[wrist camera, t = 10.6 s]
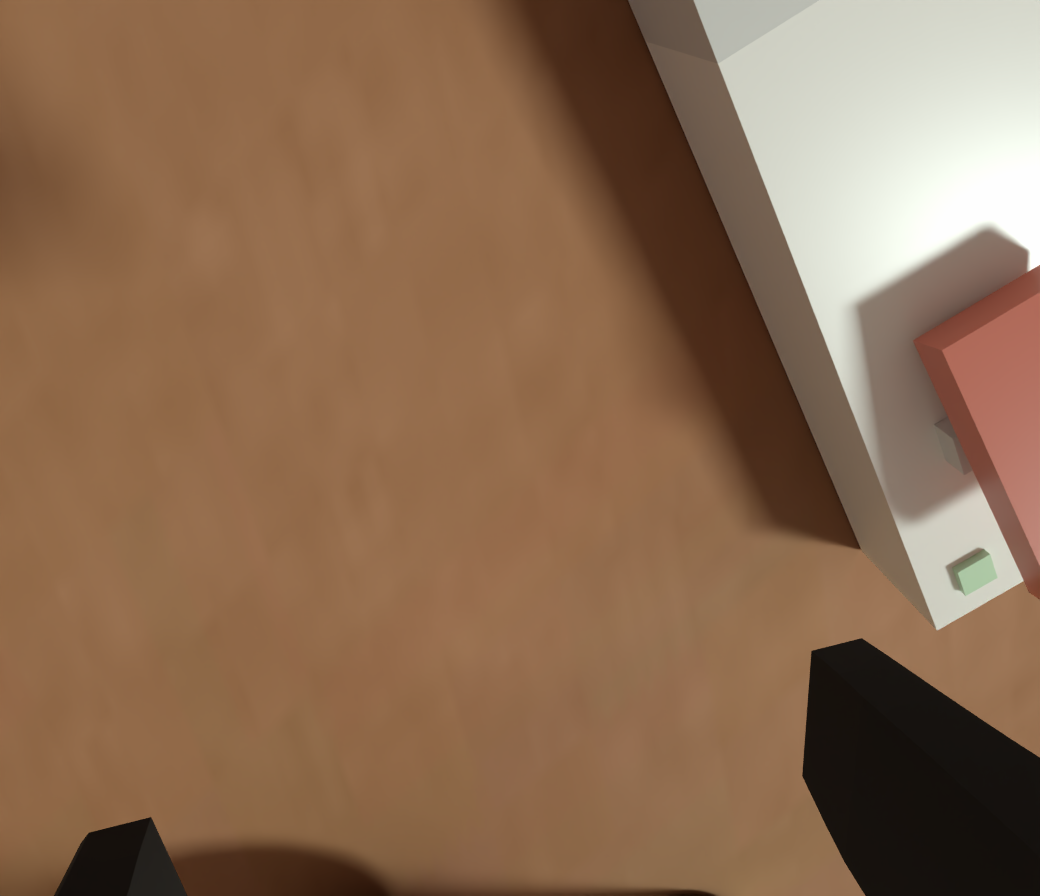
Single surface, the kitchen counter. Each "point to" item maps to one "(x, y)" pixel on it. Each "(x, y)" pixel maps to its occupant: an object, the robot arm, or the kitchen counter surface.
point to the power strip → (871, 233)
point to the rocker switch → (997, 406)
